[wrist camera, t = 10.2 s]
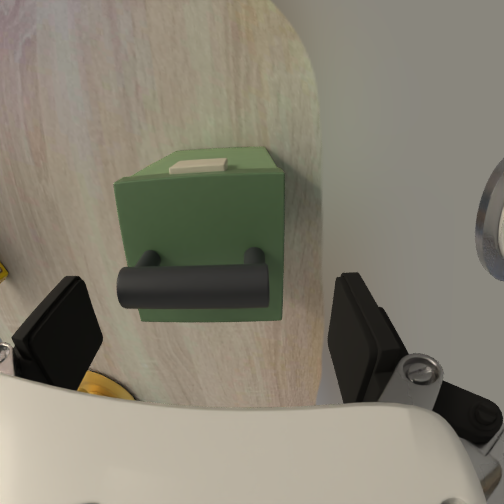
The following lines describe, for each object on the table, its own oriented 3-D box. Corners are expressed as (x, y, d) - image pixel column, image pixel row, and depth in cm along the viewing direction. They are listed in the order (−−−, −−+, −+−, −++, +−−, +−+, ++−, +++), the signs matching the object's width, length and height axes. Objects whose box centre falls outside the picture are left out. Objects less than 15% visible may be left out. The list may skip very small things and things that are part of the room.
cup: (152, 423, 38) (145, 452, 33) (87, 417, 38) (77, 443, 33) (117, 368, 33) (104, 401, 28) (49, 365, 33) (33, 392, 28)
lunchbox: (266, 141, 23) (298, 182, 9) (267, 231, 26) (289, 369, 12) (173, 146, 23) (73, 196, 9) (182, 234, 26) (122, 366, 12)
